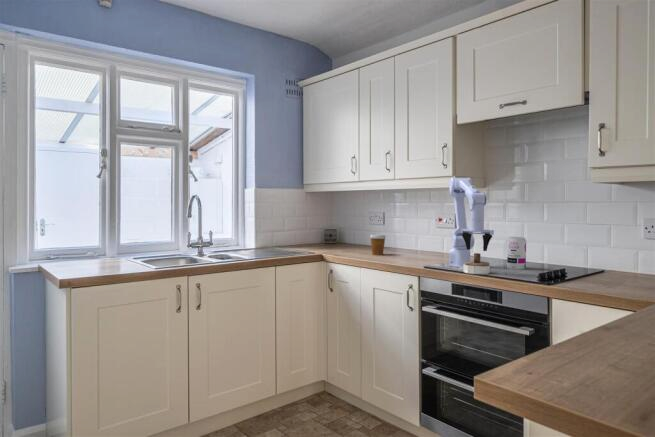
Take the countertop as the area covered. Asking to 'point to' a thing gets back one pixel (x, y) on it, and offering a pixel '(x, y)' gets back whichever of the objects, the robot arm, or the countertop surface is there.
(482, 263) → the lid
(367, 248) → the countertop surface
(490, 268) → the mat
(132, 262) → the countertop surface
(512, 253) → the supplement can
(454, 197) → the robot arm
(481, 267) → the bowl
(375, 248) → the disposable coffee cup
